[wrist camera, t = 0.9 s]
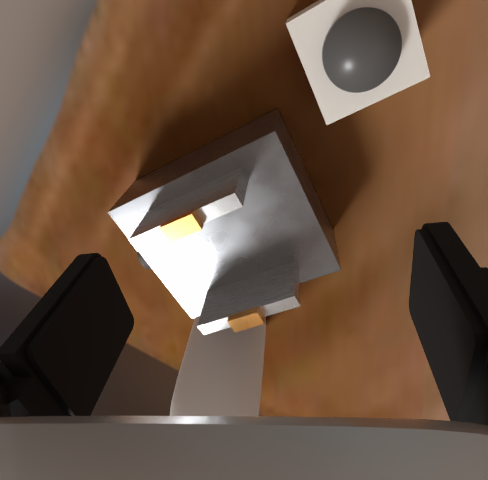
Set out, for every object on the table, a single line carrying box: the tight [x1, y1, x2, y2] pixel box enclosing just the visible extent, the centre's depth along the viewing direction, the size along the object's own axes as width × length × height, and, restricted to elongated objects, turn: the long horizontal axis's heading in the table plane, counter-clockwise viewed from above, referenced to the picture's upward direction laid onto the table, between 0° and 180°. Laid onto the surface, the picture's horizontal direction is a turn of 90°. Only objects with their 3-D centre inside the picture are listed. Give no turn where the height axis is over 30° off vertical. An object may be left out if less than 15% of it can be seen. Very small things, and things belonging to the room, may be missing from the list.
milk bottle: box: [170, 316, 266, 416], centre depth 32 cm, size 8×8×20 cm
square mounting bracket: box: [108, 108, 341, 335], centre depth 29 cm, size 16×12×11 cm
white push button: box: [286, 0, 430, 125], centre depth 22 cm, size 6×6×7 cm
